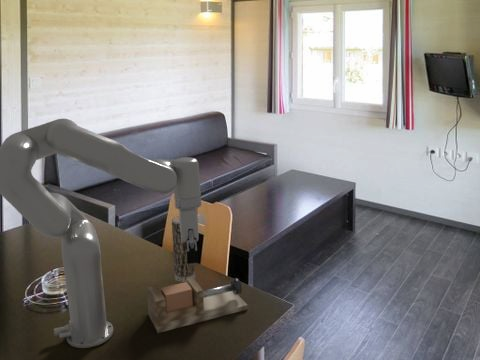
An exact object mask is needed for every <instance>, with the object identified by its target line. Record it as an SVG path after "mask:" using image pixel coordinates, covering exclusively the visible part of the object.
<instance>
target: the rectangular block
mask: <svg viewBox="0 0 480 360" xmlns="http://www.w3.org/2000/svg"><path fill="white" fill-rule="evenodd" d="M160 291H161V293H162V295H163V296H164V298H165V302H166V313H168V312H172V311H176V310H180V309H184V308H188V307H192V306H193V303H192V289H191V287H190V286H189V285H188V283H187V282H184V283H180V284H175V283H174V284H171V285H167V286H163V287H160Z"/></svg>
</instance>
